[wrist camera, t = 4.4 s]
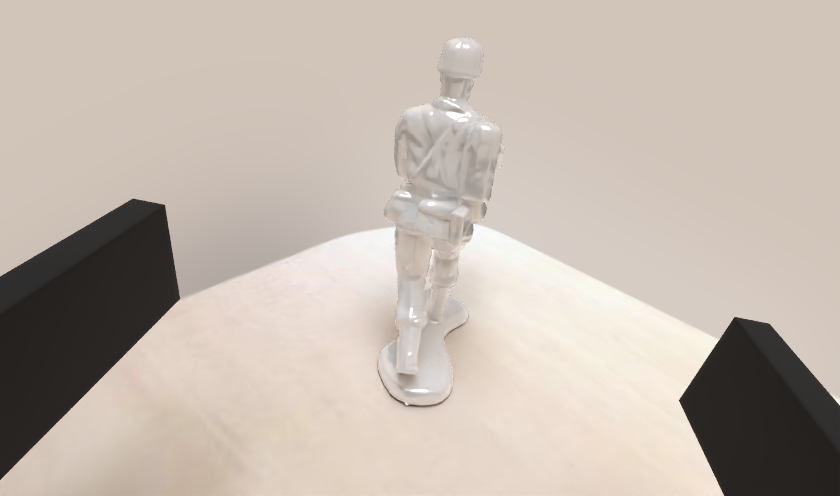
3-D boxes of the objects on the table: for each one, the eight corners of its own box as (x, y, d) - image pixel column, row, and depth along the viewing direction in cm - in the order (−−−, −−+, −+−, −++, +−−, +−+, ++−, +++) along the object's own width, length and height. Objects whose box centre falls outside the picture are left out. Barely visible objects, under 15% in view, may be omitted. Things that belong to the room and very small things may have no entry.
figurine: (353, 398, 16) (392, 44, 10) (384, 263, 24) (416, 18, 18) (481, 417, 16) (597, 80, 10) (470, 276, 24) (531, 38, 18)
